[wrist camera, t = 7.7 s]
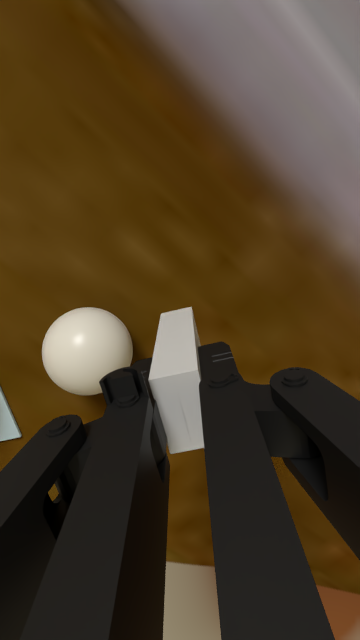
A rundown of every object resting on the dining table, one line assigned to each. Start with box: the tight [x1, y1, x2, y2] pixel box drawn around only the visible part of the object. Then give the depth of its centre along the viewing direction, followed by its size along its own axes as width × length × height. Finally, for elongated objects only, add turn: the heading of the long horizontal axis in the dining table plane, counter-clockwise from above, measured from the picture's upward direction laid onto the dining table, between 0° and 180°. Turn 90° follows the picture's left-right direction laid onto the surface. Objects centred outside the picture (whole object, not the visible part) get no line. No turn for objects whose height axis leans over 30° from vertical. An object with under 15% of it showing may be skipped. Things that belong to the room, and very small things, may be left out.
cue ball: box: [42, 307, 133, 395], centre depth 21 cm, size 6×6×6 cm
